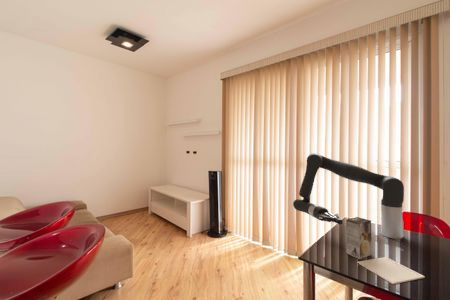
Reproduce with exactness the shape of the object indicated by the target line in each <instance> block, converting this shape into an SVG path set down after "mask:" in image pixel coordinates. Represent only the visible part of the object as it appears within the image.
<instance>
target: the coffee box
mask: <svg viewBox="0 0 450 300" xmlns="http://www.w3.org/2000/svg"><path fill="white" fill-rule="evenodd" d="M345 222H346V223H345V224H346V225H345V229H346V230H345V231H346V232H345V233H346V238H345V239H346V254H347V255H349V256H352V257H353V258H355V259H358V260H362V259H364V258H367V257H369V256H372V220H370V219H366V218H362V217H359V216H356V217H352V218H348V219H346V220H345Z"/></svg>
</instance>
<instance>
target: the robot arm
mask: <svg viewBox="0 0 450 300" xmlns="http://www.w3.org/2000/svg"><path fill="white" fill-rule="evenodd" d="M319 169H323V170H327V171H329V172H330V173H333V174H335V175H338V176H339V177H341V178H344V179H347V180H350V181H352V182H353V181H354V182H357V183H363V184H367V185H371V186H373V187H375V188H377V189H380V190H382V198H381V201H380V212H381V213H380V214H381V216H380V221H381V223H380V227H381V228H380V229H381V231H380V232H381V233H380V234H381V235H382V236H383V237H386V238H388V239H389V238H390V239H394V240H402V239H403V238H404V220H403V204H404V198H405V186H404V183H403V181H401V179H399V178H396V177H394V176H388V175H383V174H379V173H375V172H372V171H370V170H368V169H366V168H362V167H361V166H357V165H355V164H352V163H348V162H344V161H340V160H336V159H335V160H334V159H331V158H329V157H327V156H323V155H321V154H319V153H316V152H315V153H314V152H313V153H310V154H309V155H308V156H307V158H306V168H305V174H304V176H303V179H302V182H301V185H300V188H299V192H298V194H299V196H300V197H302V198H303V199H301V198H300V199H299V198H297V199H295V200H293V203H292V205H293V207H294V209H295V210H296V211H298V212H302V213H306V214H307V215H310V216H312V217H313V218H314V219H317V220H319V221H322V222H328V223H335V224H338V225H343V219H341V218H340V215H339V213H335V214H333V213H331V212H330V211H329V210H328V209H327V208H325V207H323V206H320V205H319V204H314V203H312V202H311V194H312V191H313V188H314V182H315V178H316V176H317V173H318V171H319Z"/></svg>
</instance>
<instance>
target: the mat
mask: <svg viewBox="0 0 450 300" xmlns="http://www.w3.org/2000/svg"><path fill="white" fill-rule="evenodd" d="M356 263H357V264H358V263H359V264H358V265H360V266H362V267H363V268H365V269H367V270H368V271H369V272H372V273H373V274H375V275H377V276H378V277H379V278H381V279H383V280H385V281H386V282H387V283H389V284H390V285H397V284H401V283H406V282H410V281H415V280H420V279H425V278H426V277H425V275H423V274H421V273H419V272H417V271H415V270H414V269H413V270H412V269H411V268H409V267H407V266H405V265H403V264H402V263H399V262H397V261H395V260H393V259H391V258H390V257H387V256H383V257H378V258H372V259H365V260H360V261H357V262H356Z"/></svg>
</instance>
